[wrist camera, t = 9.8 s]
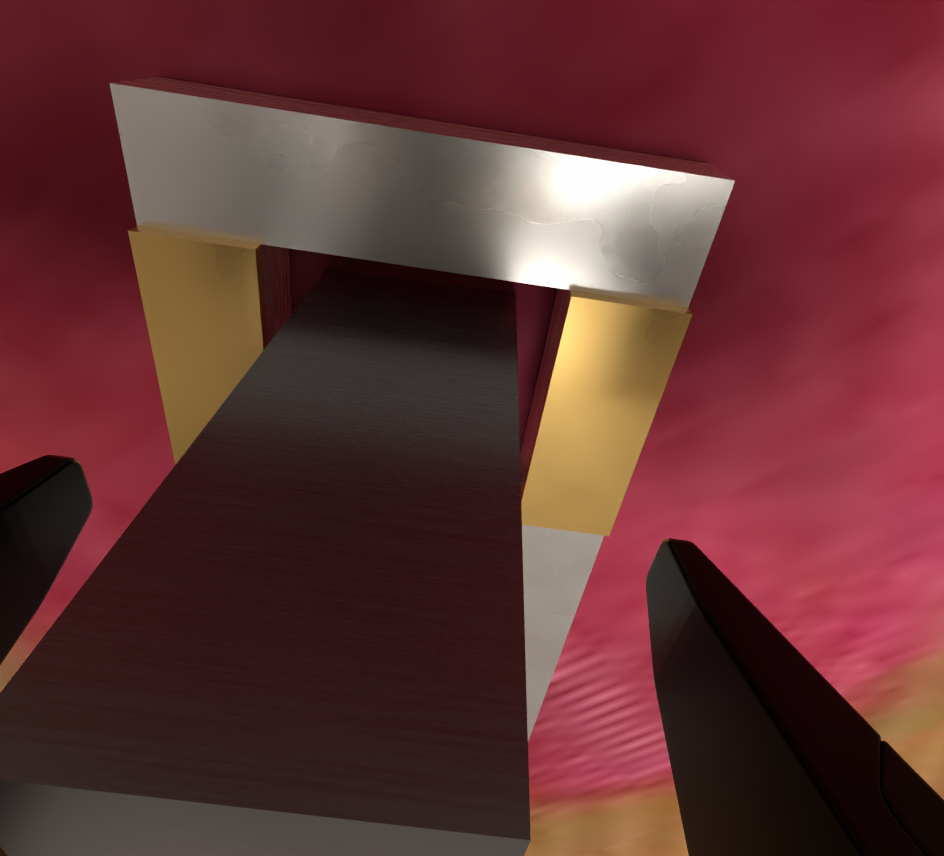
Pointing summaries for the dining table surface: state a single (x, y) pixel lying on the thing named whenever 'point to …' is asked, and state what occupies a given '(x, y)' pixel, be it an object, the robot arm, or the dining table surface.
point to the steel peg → (304, 611)
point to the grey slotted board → (430, 247)
